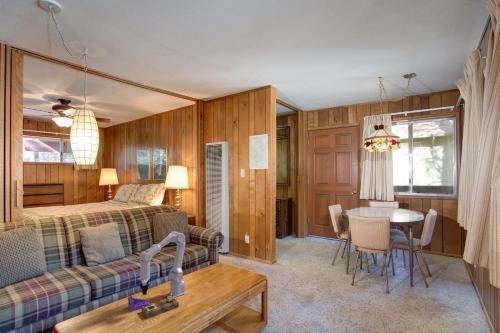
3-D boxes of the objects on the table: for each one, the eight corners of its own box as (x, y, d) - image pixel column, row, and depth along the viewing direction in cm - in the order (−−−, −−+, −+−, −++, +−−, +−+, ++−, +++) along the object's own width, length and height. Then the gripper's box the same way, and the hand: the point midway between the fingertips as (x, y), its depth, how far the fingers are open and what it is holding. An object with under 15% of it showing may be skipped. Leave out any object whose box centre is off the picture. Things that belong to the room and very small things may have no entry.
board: (171, 301, 175) (171, 296, 175) (178, 307, 168) (178, 302, 168) (141, 311, 162) (141, 306, 162) (147, 318, 155) (147, 313, 155)
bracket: (130, 312, 162) (130, 301, 162) (128, 307, 167) (128, 296, 167) (150, 306, 169) (150, 296, 169) (147, 302, 174) (147, 291, 174)
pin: (170, 304, 171) (170, 292, 171) (172, 306, 169) (172, 293, 169) (166, 305, 169) (166, 293, 169) (168, 307, 167) (168, 295, 167)
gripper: (139, 267, 173) (139, 287, 173) (137, 276, 159) (137, 298, 159) (150, 266, 175) (150, 286, 175) (149, 274, 161) (149, 296, 161)
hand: (145, 291), depth 167 cm, fingers open, 7 cm apart
